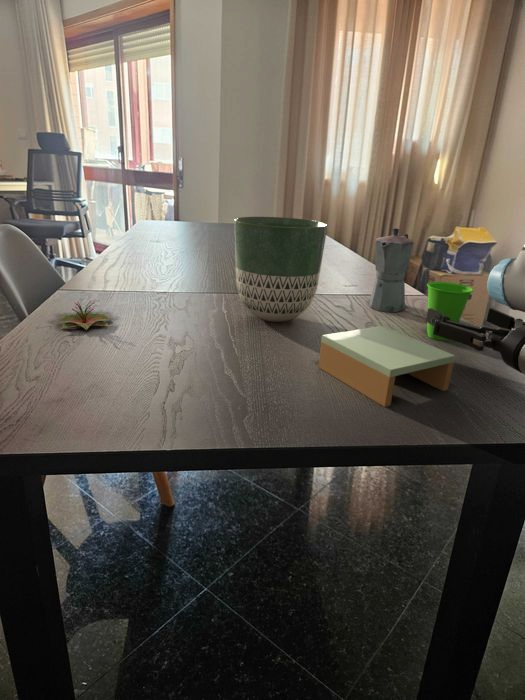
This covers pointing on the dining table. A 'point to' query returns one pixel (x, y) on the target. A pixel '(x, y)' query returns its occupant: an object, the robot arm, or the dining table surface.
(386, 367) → the shelf
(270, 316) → the planter
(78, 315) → the lily flower
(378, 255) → the moka pot
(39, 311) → the dining table surface
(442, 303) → the cup
